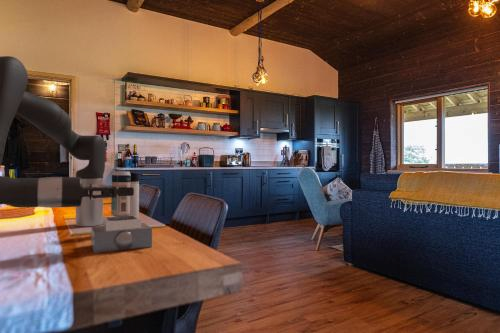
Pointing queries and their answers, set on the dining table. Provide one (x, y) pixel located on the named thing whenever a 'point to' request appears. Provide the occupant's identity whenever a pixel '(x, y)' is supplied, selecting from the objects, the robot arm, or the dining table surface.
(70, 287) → the dining table surface
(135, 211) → the travel mug
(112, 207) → the beer can
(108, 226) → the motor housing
